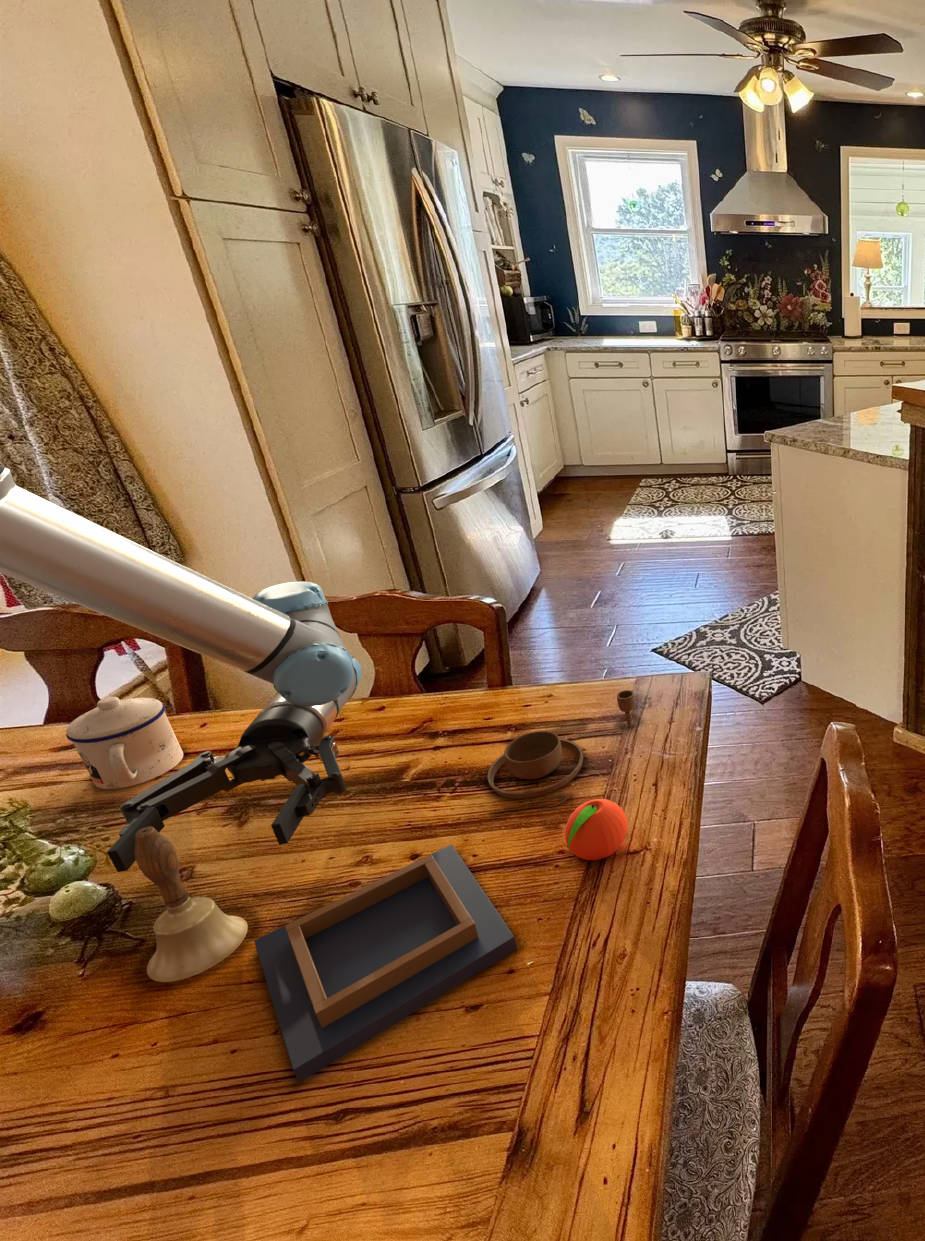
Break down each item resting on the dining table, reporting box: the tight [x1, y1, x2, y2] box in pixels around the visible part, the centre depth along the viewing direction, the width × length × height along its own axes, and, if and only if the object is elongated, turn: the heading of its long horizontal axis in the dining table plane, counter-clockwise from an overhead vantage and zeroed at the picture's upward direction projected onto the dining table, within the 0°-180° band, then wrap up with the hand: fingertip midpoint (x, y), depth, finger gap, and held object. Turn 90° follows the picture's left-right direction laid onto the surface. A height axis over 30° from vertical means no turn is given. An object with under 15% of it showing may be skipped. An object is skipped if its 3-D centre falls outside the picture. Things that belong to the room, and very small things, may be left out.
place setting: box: [487, 689, 636, 808], centre depth 98 cm, size 18×20×6 cm
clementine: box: [564, 798, 628, 861], centre depth 84 cm, size 8×7×7 cm
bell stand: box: [254, 843, 518, 1083], centre depth 71 cm, size 18×18×4 cm
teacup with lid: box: [65, 696, 184, 790], centre depth 92 cm, size 12×9×12 cm
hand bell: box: [135, 827, 249, 983], centre depth 68 cm, size 8×8×16 cm
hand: (200, 847), depth 73 cm, fingers open, 13 cm apart
